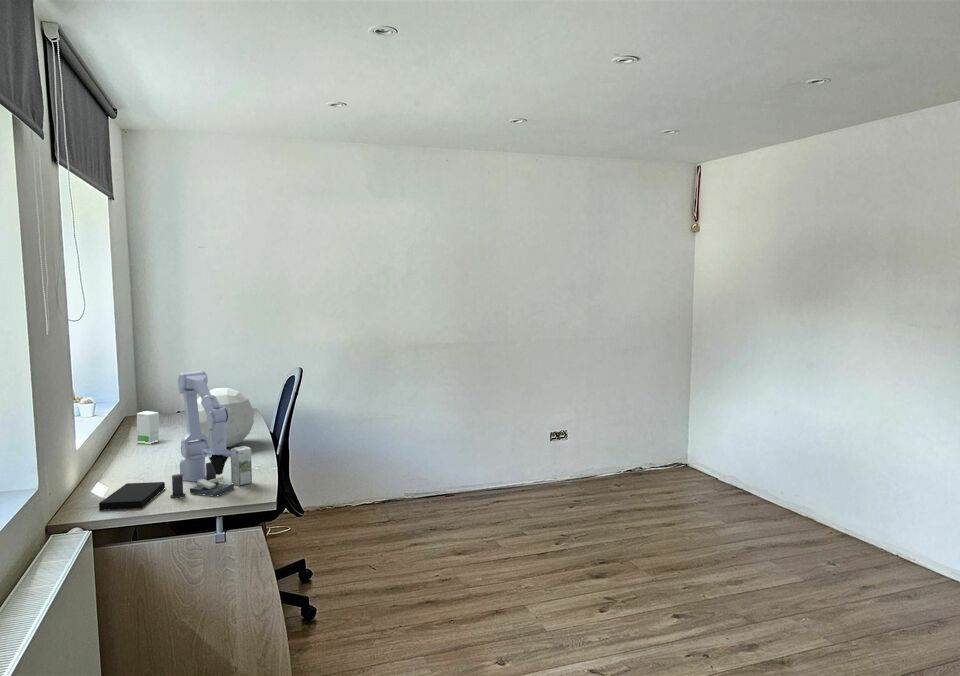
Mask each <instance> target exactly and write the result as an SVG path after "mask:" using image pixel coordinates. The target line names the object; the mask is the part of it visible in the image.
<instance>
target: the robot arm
mask: <svg viewBox="0 0 960 676" xmlns="http://www.w3.org/2000/svg"><path fill="white" fill-rule="evenodd" d="M208 380H209V378H208V374H207V373H206V371H204V370H201V371H193V372H192V371H191V372H181V373H180V374H179V375H178V378H177V385H178V391H179V392H178V393H180V394H182V396H183V403H184V410H185V421H186V429H187V434H186V435H184V437H183V438H181V441H180V454H181V456H182V458H181V460H180V462H179V474H182V475H183V481H187V482H196V481H199V480H201V479H204V478H205V479H206V457H207V455H208V456H209V462H212V464H213V466H214V469H215V472H216V476H220V475H222V474H223V472H224V468H225V465H226V462H227V461H228V458H229V457H230V458H231V457H232V458H233V457H236V451H231V449H228V448H226V422H227V421H228V411H227V409H226V408H225V407H223V406H221V405H220V404H219V402H218V400H217V399H216V397H215V396H214V395H211V394H210V389H209V387H208ZM197 395H198V396H199V397H201V398H202V401H201V404H202V406H203V408H204V409H205V411H206V413H207V421H208V427H209V428H210V445H209V442H208V438H207V436H206V435H204V434H202V433H201V431H200V422H199V412H198V403H197V399H198V396H197ZM199 439H200V440H199Z"/></svg>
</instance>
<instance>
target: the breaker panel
mask: <svg viewBox="0 0 960 676" xmlns="http://www.w3.org/2000/svg"><path fill="white" fill-rule="evenodd" d="M214 484H216V486H215V487H213V488H211V489H208V488H206V487H204V486H201V485H199V484H197V485H195V486H193V487H191V488H189V494H190V493H194V494H193V495H197V494H205V495H213V496H212V497H214V496H217V495H219V496H221V495H224V494H226V493H228V492H230V490H231V491H233V490H235V484H232V483H229V482H220V481H218V482H214ZM232 489H233V490H232ZM227 491H228V492H227ZM225 492H226V493H225ZM223 493H224V494H223ZM220 494H221V495H220ZM205 495H204V496H205ZM217 497H218V496H217Z"/></svg>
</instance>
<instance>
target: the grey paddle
mask: <svg viewBox="0 0 960 676" xmlns="http://www.w3.org/2000/svg"><path fill="white" fill-rule="evenodd" d="M196 484H197V485H201V486H204V487H206V488H208V489H211V488H213V487H215V486H216V484H214V483H212V482H210V481H207V480H206V478H205V479H201V480H199V481H197V482H196Z"/></svg>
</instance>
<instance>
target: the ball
mask: <svg viewBox="0 0 960 676" xmlns="http://www.w3.org/2000/svg"><path fill="white" fill-rule="evenodd" d="M209 391H210V394H211V395H214V396H215V397H216V399H217V400H218V402H219V404H220V405H221V406H223V407H225V408H226V409H227V411H228V421H227V422H226V449H228V448H227V447H230V448H231V447H235V446H236V445H238V444H240V443H242V442H243V441H244V439H246V438H247V437H248V435H249V434H250V433H251V430H252V427H253V425H254V423H255V422H254V421H255V419H254V415H255V414H254V413H255V411H254V410H255V409H254V408H253V406H252V404H251V402H250V400H249V399H248V398H247V397H246V396H245V395H244V394H243V393H242V392H241V391H239V390H235V389H233V388H230V387H216V388H213V389H209ZM201 401H202V398H201V397H200V396H199V397H197V403H198V412H199V422H200V431H201V433H202V434H204V435H206V436H207V438H208V442H209V445H210V428H209V427H208V421H207V413H206V411H205V409H204V408H203V406H202V404H201ZM199 440H200V439H199ZM199 440H198V441H199Z"/></svg>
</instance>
